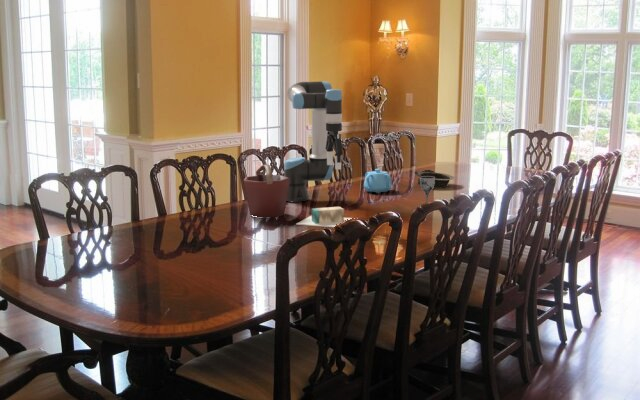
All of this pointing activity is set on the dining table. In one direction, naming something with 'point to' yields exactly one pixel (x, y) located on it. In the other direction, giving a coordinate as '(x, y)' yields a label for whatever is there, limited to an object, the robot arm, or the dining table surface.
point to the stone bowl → (436, 178)
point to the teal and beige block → (327, 215)
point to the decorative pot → (377, 181)
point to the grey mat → (309, 222)
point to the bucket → (266, 193)
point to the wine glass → (427, 184)
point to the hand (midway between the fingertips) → (334, 167)
